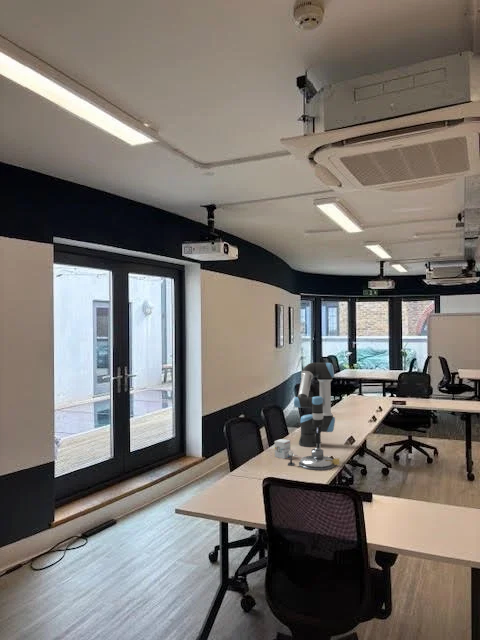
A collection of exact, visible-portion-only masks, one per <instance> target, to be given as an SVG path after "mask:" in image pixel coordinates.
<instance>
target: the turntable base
mask: <svg viewBox="0 0 480 640" xmlns="http://www.w3.org/2000/svg"><path fill="white" fill-rule="evenodd" d="M298 466H299V467H300V468H303V469H306V470H309V471H326V470H327V471H328V470H332V469H334V468H335V467H336V465H335V464H333V465H332V466H329V467H324V468H312V467H307V466H303V465H302V464H301V463H300V461H299V462H298Z"/></svg>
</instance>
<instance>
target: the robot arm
mask: <svg viewBox="0 0 480 640" xmlns="http://www.w3.org/2000/svg"><path fill="white" fill-rule="evenodd" d="M300 378H301V379H300V384H299V389H298V395H297V396H295V397H294V398H293V407H295V408H298V409H299V408H301V409H302V408H303V409H306V408H307V409H308V408H309V409H312V413H311V414H310V413H309V414H303V415H302V416H301V417H300V421H299V423H300V437H299V440H298V445H299V446H302V447H307V448H308V447H310V448H311V447H315V448H320V449H322V448H321V443H322V441H321V439H322V438H321V437H322V436H321V433H333V432H334V429H335V425H336V424H335V423H336V417H334V414H333V413H332V400H331V399H332V398H331V397H332V396H331V394H332V392H331V383H332V381H333V378H335V370H334V366H333V363H332V362H311V363H308V364H307V365H305V366H304V368H302V370H301V373H300ZM313 378H317V381H318V383H319V395H317V396H311V397H310V396H309V395H310V394H309V393H310V389H311V385H312V380H313Z"/></svg>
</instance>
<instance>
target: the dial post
mask: <svg viewBox="0 0 480 640" xmlns="http://www.w3.org/2000/svg"><path fill="white" fill-rule="evenodd" d="M288 455H289V456H290V457H289V462H288V463H287V466H289V467H290V466H291V467H292V466H293V467H294V466H295V462H293V457H298V454H294V451H293V450H290V451H289V452H288Z"/></svg>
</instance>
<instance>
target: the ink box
mask: <svg viewBox="0 0 480 640" xmlns="http://www.w3.org/2000/svg"><path fill="white" fill-rule="evenodd" d="M290 450H291V440H290V439H284V438H280V439H277V440H274V458H279V459H283V460H285V459H287V458H290V456H289V455H288V452H289V451H290ZM291 451H292V450H291Z"/></svg>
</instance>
